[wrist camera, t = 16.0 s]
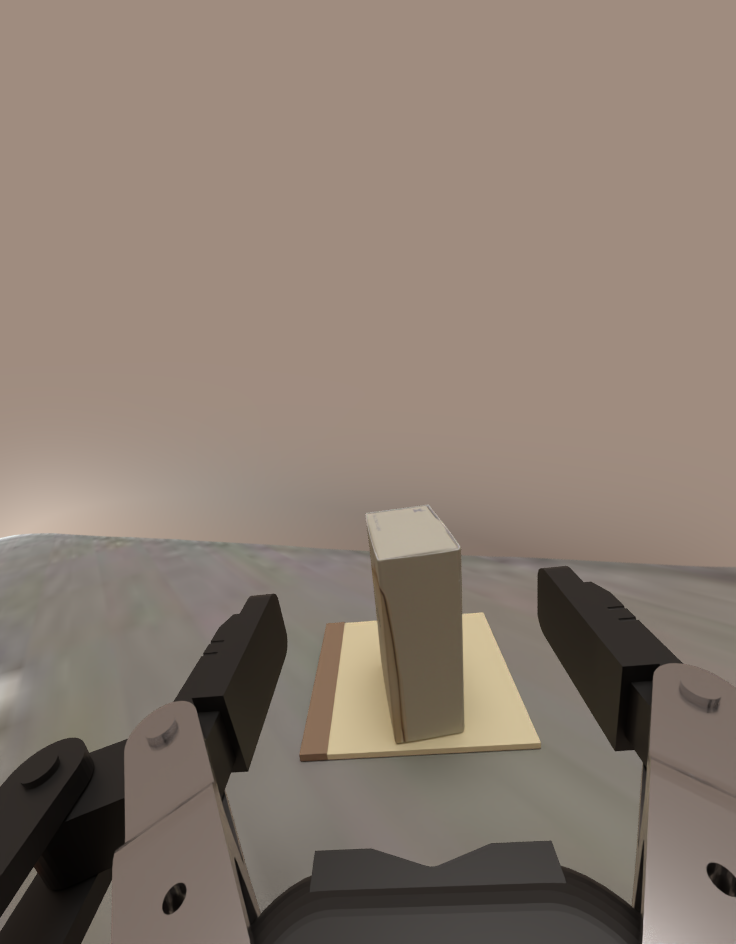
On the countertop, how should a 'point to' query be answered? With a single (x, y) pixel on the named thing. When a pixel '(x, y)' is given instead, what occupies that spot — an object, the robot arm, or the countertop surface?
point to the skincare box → (418, 620)
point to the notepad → (366, 707)
